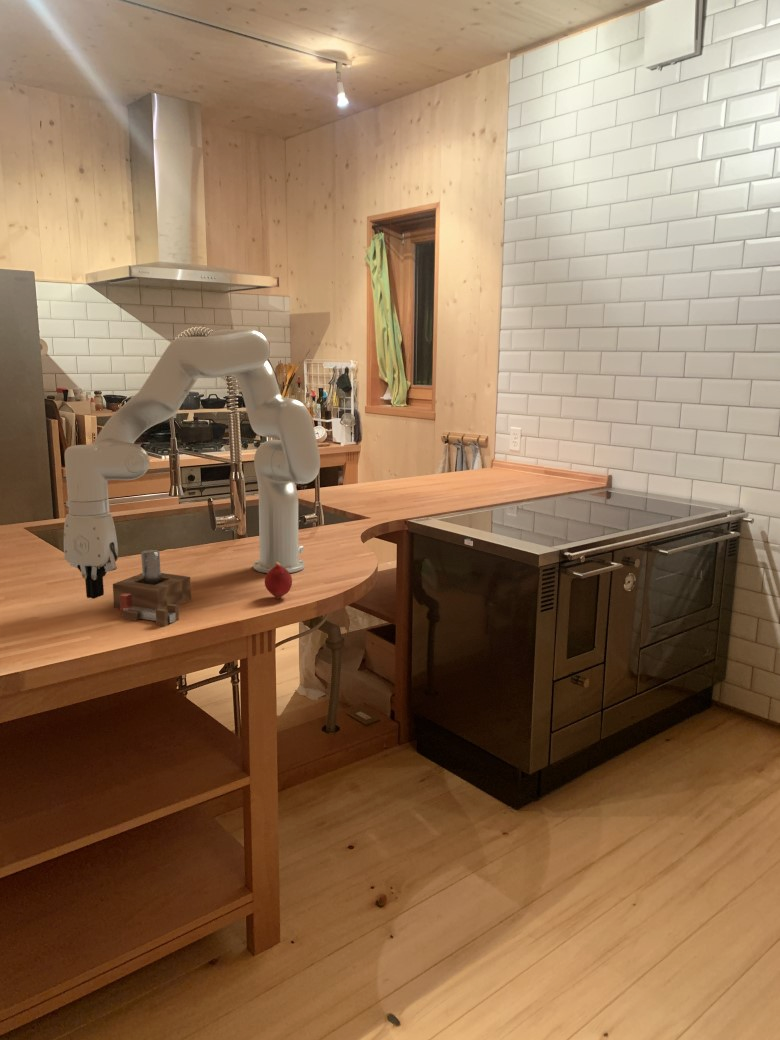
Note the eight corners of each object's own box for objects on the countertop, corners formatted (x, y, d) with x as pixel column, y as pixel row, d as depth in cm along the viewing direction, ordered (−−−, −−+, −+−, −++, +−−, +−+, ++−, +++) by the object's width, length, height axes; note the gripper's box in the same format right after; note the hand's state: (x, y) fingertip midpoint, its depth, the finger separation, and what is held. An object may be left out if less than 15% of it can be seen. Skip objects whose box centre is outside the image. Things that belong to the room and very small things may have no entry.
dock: (148, 593, 168) (147, 571, 167) (212, 602, 163) (212, 579, 162) (96, 614, 154) (94, 590, 153) (164, 626, 148) (163, 601, 147)
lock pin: (126, 612, 155) (125, 593, 154) (175, 620, 151) (174, 600, 150) (120, 615, 153) (119, 595, 152) (169, 623, 149) (169, 603, 148)
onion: (293, 594, 170) (293, 559, 168) (290, 602, 164) (290, 566, 162) (266, 594, 169) (266, 558, 168) (263, 602, 164) (263, 565, 162)
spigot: (150, 595, 164) (147, 549, 162) (165, 596, 163) (162, 550, 161) (141, 600, 160) (137, 553, 158) (156, 601, 159) (153, 553, 157)
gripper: (45, 508, 152) (52, 597, 155) (106, 514, 146) (112, 606, 150) (73, 501, 158) (79, 587, 162) (132, 507, 153) (137, 595, 157)
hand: (95, 596), depth 156 cm, fingers closed
